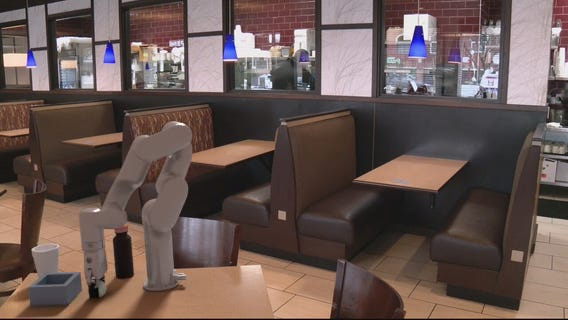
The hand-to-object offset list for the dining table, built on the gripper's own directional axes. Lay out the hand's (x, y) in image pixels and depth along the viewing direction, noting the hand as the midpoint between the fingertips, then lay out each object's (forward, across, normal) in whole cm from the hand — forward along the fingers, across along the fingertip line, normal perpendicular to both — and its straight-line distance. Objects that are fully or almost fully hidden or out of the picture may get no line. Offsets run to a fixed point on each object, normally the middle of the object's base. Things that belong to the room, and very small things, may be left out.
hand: (97, 294), depth 178 cm
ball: (-2, 0, 0) cm, 2 cm away
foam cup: (+1, +17, +24) cm, 29 cm away
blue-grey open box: (+1, 0, +14) cm, 14 cm away
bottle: (+1, +19, -4) cm, 19 cm away
